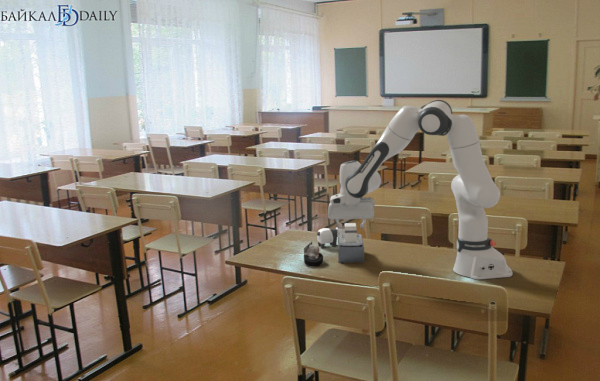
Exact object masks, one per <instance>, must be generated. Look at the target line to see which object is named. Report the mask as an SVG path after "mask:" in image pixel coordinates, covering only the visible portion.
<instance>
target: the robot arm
mask: <svg viewBox="0 0 600 381" xmlns="http://www.w3.org/2000/svg"><path fill="white" fill-rule="evenodd" d="M420 130H421V132H422V133H423V134H426V135H427V136H428V135H429V136H439V137H440V136H442V137H444V136H446V139H447V141H448V147H449V151H450V156H451V159H452V163H453V167H454V169H456V171H457V173H458V174H457V175H456V176H455V177H453V179H452V180H451V182H450V183H451V184H450V188H451V191H452V193H453V195H454V199H455V204H456V205H455V206H456V210H457V214H458V215H457V216H458V232H457V233H458V236H457V237H456V251H457V252H456V259H455V261H454V265H453V270H452V271H453V272H454V273H456V274H458V275H460V276H463V277H468V278H471V279H473V280H487V279H488V280H489V279H498V278H499V279H500V278H501V279H502V278H511V277H512V276H513V269H511V268H510V266H508V265H507V261H506V258H505V256H504V255H503V253H501V252H499V251H498V250H497V249H495V248H494V247H496V245H497V243H496V242H495V241H494V240H493V239H491V238H490V237H489V236H488V233H489V231H488V230H489V229H488V228H489V219H488V216H487V213H486V211H485V209H490V208H493V207H495V206H496V205H497V203H499V200H500V198H501V192H500V188H499V187H498V186H497V185H496V183H495V182H494V180H493V177H492V176H491V173H490V172H489V169H488V167H487V165H486V163H485V160H484V157H483V153H482V148H481V143H480V138H479V135H478V132H477V128H476V125H475V124H474V121H473V119H472V118H471V117H470V116H469V115H466V114H457V115H456V114H453V109H452V106H451V105H450V104H449V103H448V102H447V101H445V100H443V99H436V100H432V101H430V102H427V103H426V104H424V105H422V106H421V107H420V109H419V108H417V107H415V106H413V105H404V106H402V107H401V108H400V109H399V110H398V111H397V112H396V114H394V116H393V117H392V119H390V122H389V123H388V124H387V126H386V128H385V129H384V130H383V132H382V133H381V136H380V137H379V139H378V140H377V142H376V144H375V145H374V147H373V148H372V149H371V150H370V152H369V153H368V155H367V156H366V158H365V159H364V160H363V162H362V163H360V161H358V160H350V161H345V162H342V163H341V164H340V167H339V184H340V190H339V193H337V194H334V195H331V196H330V199H329V200H330V202H329V204H328V208H327V218H328V220H332V221H333V220H335V223H336V224H337V225H338V226H339V229H343V224H342V223H340V220H359V219H361V220H362V223H360V224H359V225H360V229H364V228H365V224H366V222H367V219H373V218H374V217H375V209H374V207H375V205H376V204H375V199H374V198H372V197H370V196H368V197H366V195H368V194H371V193H372V192H374V191H376V190H377V189H379V188H380V187H381V184H382V176H381V174H380V173H379V172H378V169H379V168H380V167H381V165H382V164H384V162H386V161H387V160H389V159H390V158H392V157H395V155H398V154H399V153H401V152H402V151H404V149H406V147H408V145H409V144H410V143H411V141H412V140H413V139H414V137H415V136H416V134H417V133H418V131H420ZM364 196H365V197H364Z"/></svg>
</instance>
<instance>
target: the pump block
mask: <svg viewBox="0 0 600 381" xmlns="http://www.w3.org/2000/svg"><path fill="white" fill-rule="evenodd" d="M343 229H345V233H344V234H345V242H357V234H358V229H357V223H356V222H348V223H347V222H346V223H344V228H343Z"/></svg>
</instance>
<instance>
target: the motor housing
mask: <svg viewBox="0 0 600 381" xmlns="http://www.w3.org/2000/svg"><path fill="white" fill-rule="evenodd" d="M337 243H338V244H337V245H338V246H337V253H338V255H337V256H338V263H339V264H342V263H344V264H345V263H346V264H348V263H350V264H351V263H353V264H355V263H361V264H362V263H363V264H364V263H365V245H364V239H363V235H362V234H361V233H357V242H345V233H344V234H340V235H339V237H337Z"/></svg>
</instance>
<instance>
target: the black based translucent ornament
mask: <svg viewBox="0 0 600 381" xmlns="http://www.w3.org/2000/svg"><path fill="white" fill-rule="evenodd" d="M303 261H304V265H306V266H308V267H311V268H313V267H314V268H315V267H317V268H318V267H320V266H321V265H323V263H324V256H323V254H322V253H321V252H320V247H319V246H318V245H315V244H313V241H310V242H309V243H308V244H307V245H306V246H305V247H304V248H303Z"/></svg>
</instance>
